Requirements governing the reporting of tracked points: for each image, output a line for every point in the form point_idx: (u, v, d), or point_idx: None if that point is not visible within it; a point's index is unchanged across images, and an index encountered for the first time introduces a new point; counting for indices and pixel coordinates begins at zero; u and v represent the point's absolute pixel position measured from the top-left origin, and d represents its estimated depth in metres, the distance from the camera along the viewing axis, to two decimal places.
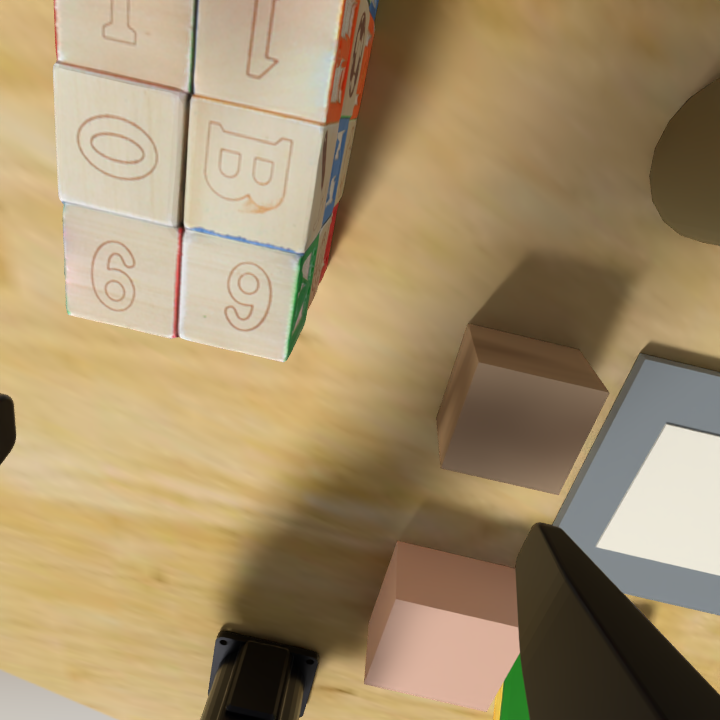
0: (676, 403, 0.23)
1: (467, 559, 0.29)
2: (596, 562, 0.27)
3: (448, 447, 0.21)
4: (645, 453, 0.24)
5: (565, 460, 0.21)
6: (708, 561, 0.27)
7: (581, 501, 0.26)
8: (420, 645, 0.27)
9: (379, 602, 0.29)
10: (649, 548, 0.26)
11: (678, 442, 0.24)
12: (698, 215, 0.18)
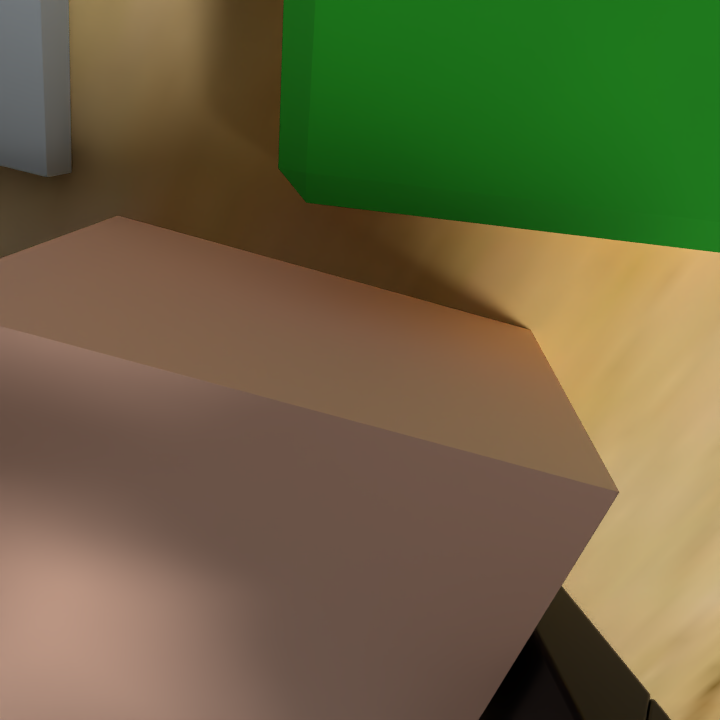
0: None
1: None
2: None
3: None
4: None
5: None
6: None
7: None
8: (158, 692, 0.07)
9: None
10: None
11: None
12: None
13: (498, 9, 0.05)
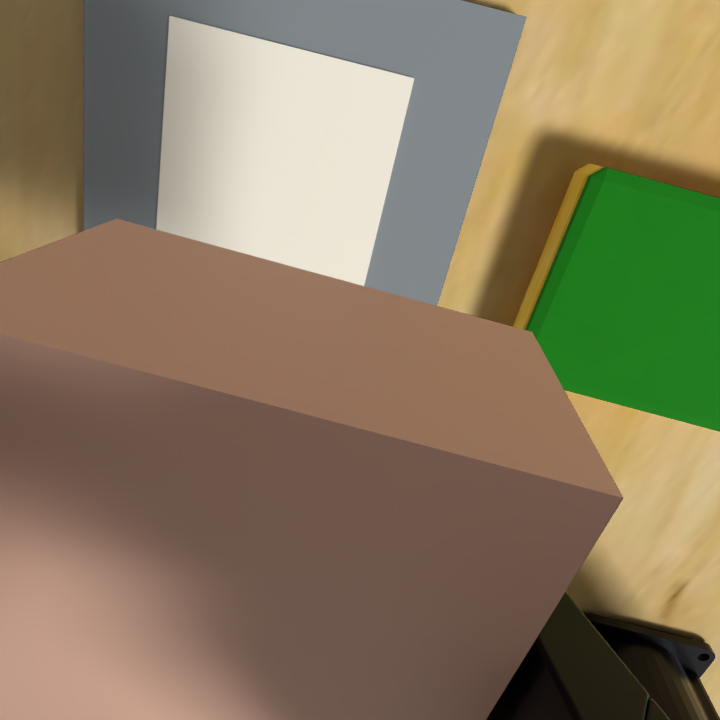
0: None
1: None
2: None
3: None
4: None
5: None
6: (377, 141, 0.17)
7: None
8: (159, 699, 0.07)
9: None
10: (355, 238, 0.18)
11: None
12: None
13: (593, 340, 0.17)
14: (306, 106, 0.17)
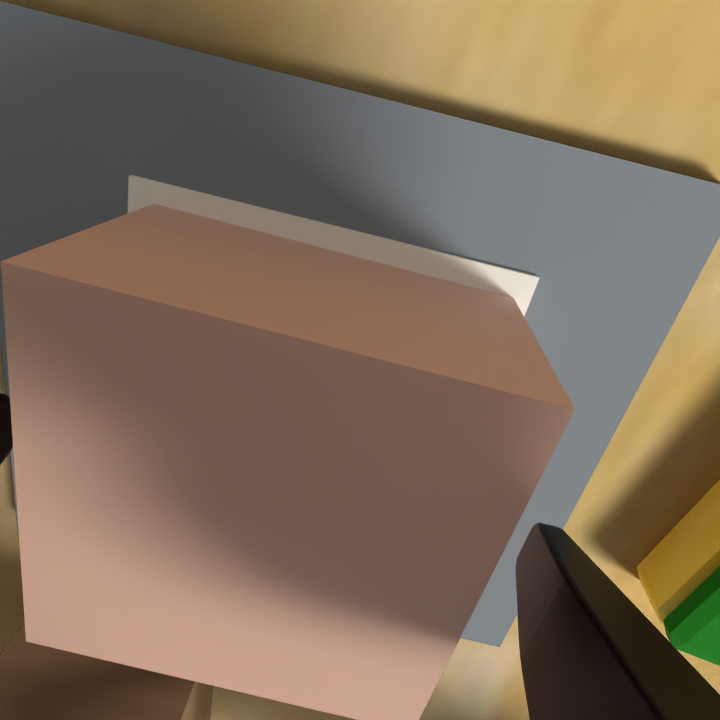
0: None
1: None
2: None
3: None
4: None
5: None
6: None
7: None
8: (201, 603, 0.08)
9: None
10: None
11: None
12: None
13: None
14: None
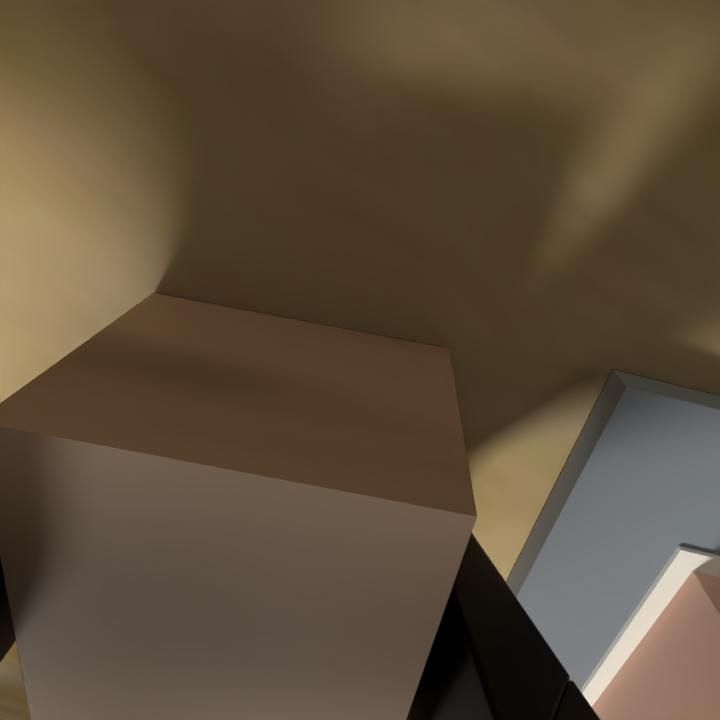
0: (706, 499, 0.09)
1: None
2: None
3: (24, 671, 0.07)
4: (628, 609, 0.10)
5: (378, 708, 0.07)
6: None
7: None
8: None
9: None
10: None
11: None
12: None
13: None
14: None
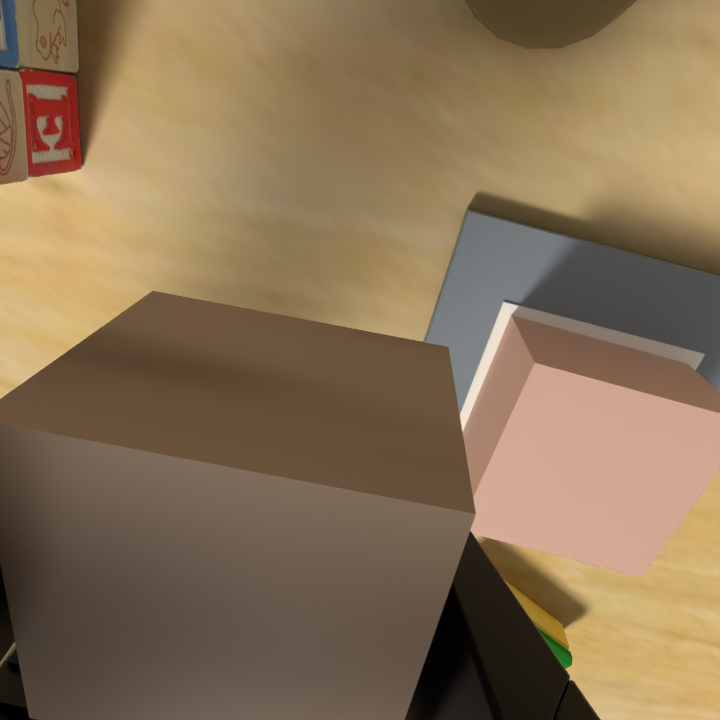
0: (512, 273, 0.18)
1: (617, 347, 0.19)
2: None
3: (23, 669, 0.07)
4: (483, 342, 0.20)
5: (377, 706, 0.07)
6: None
7: None
8: (559, 456, 0.17)
9: (477, 418, 0.20)
10: None
11: None
12: None
13: None
14: None
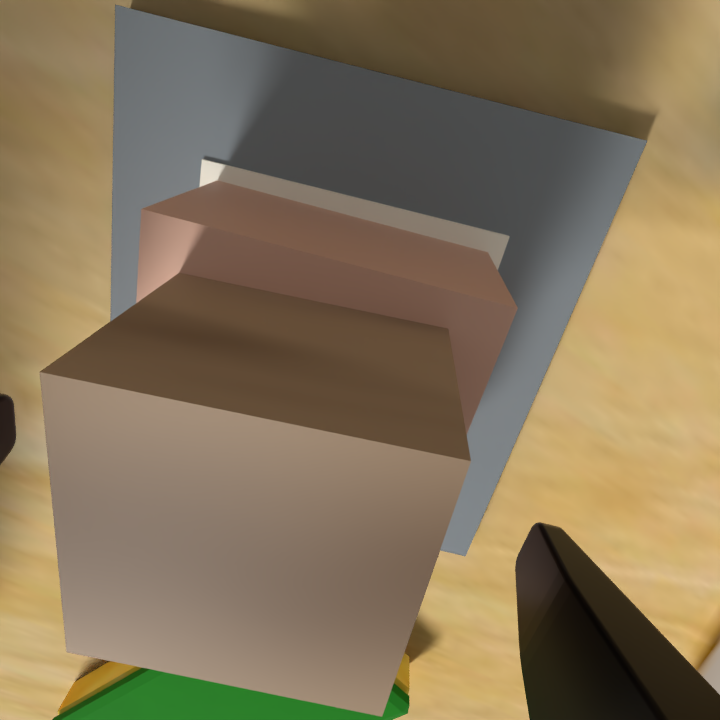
0: (205, 111, 0.12)
1: (374, 225, 0.12)
2: None
3: (64, 605, 0.08)
4: None
5: (380, 640, 0.07)
6: None
7: None
8: None
9: None
10: None
11: None
12: None
13: None
14: None
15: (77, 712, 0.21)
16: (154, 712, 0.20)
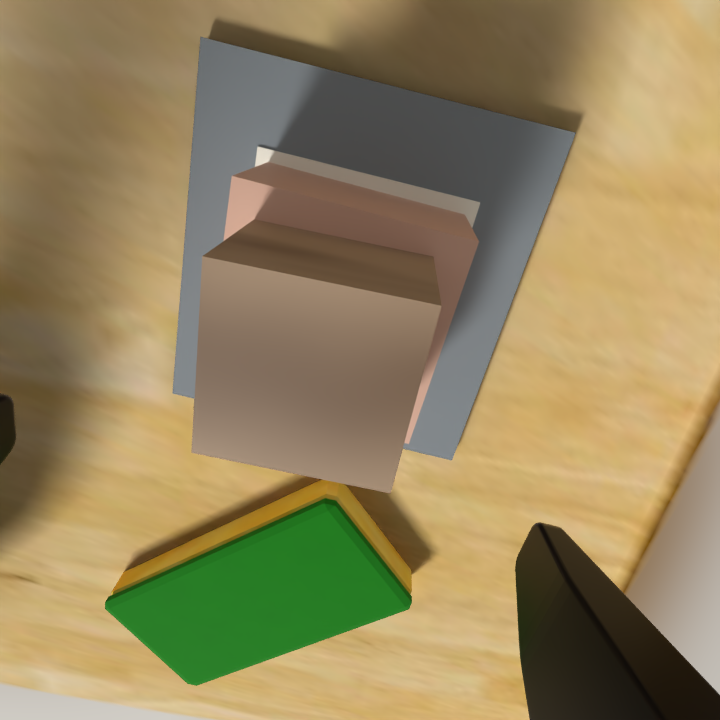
0: (261, 111, 0.17)
1: (382, 194, 0.17)
2: None
3: (194, 416, 0.12)
4: None
5: (390, 433, 0.12)
6: None
7: (193, 279, 0.20)
8: None
9: None
10: None
11: None
12: None
13: (316, 551, 0.23)
14: None
15: (134, 590, 0.25)
16: (202, 594, 0.25)
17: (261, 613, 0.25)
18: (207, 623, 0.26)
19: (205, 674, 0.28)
